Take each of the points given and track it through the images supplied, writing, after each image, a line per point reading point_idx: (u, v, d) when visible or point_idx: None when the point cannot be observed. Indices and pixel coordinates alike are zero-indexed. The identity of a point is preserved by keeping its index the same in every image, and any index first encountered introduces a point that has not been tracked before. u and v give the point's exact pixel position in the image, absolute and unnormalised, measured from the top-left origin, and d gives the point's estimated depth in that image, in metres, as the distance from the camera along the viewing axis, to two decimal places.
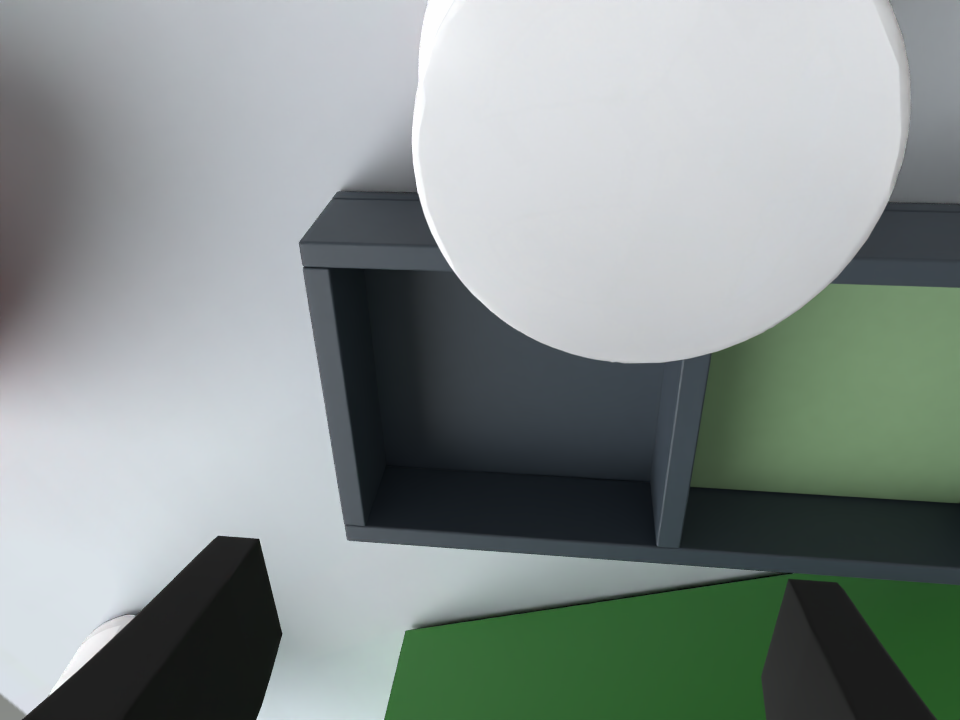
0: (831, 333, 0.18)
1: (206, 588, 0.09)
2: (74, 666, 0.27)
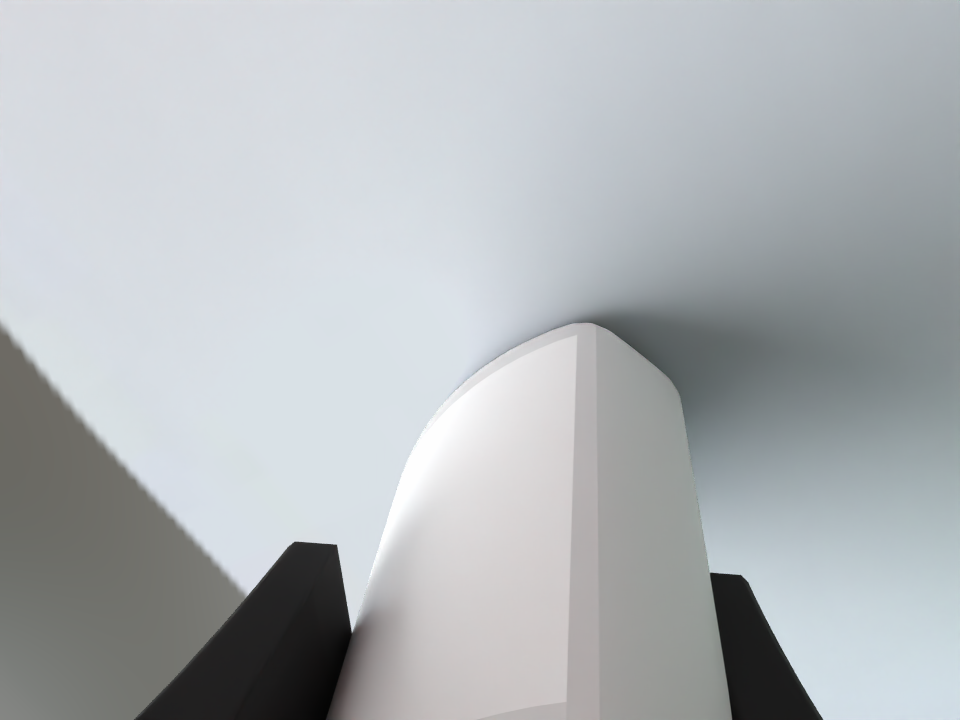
0: None
1: (292, 597, 0.09)
2: (488, 419, 0.11)
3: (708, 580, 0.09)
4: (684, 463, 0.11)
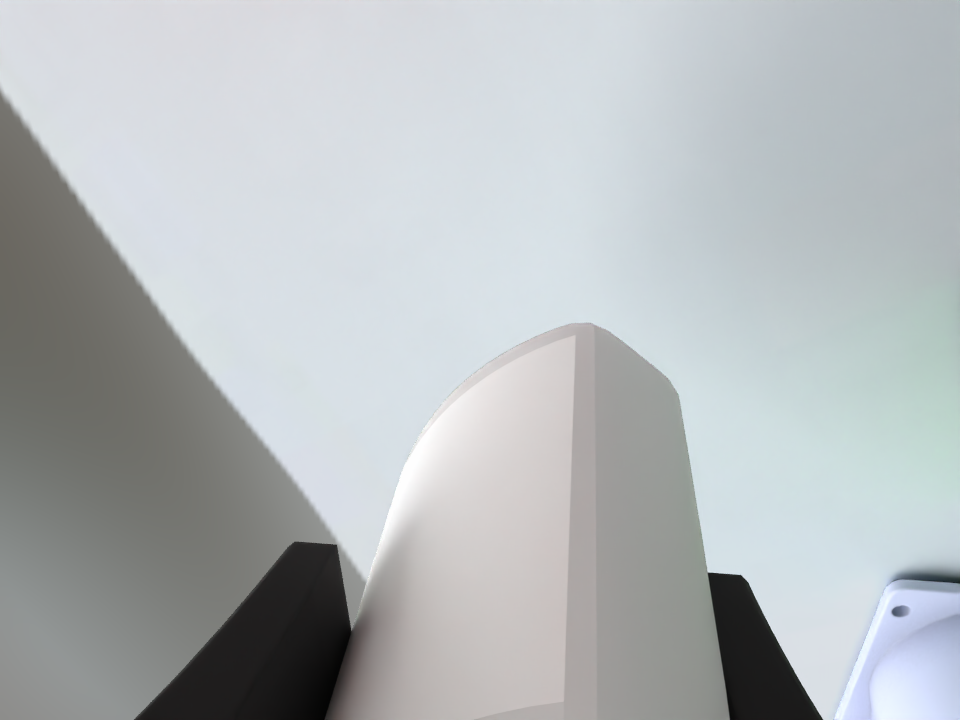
0: None
1: (292, 595, 0.09)
2: (487, 419, 0.11)
3: (706, 580, 0.09)
4: (682, 463, 0.11)
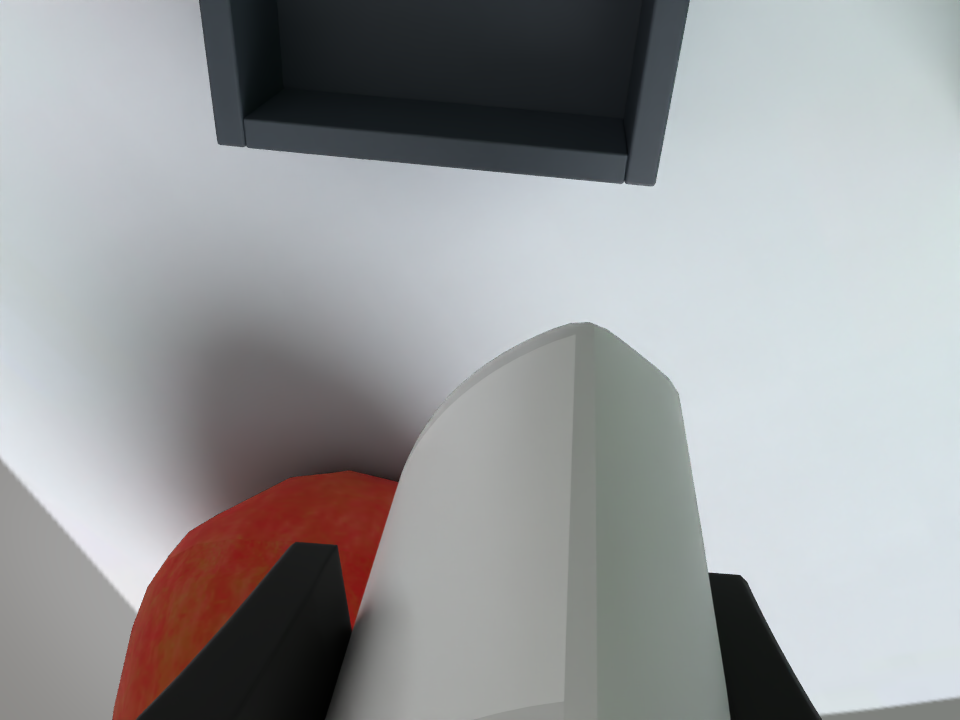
0: None
1: (293, 596, 0.09)
2: (487, 419, 0.11)
3: (706, 579, 0.09)
4: (683, 463, 0.11)
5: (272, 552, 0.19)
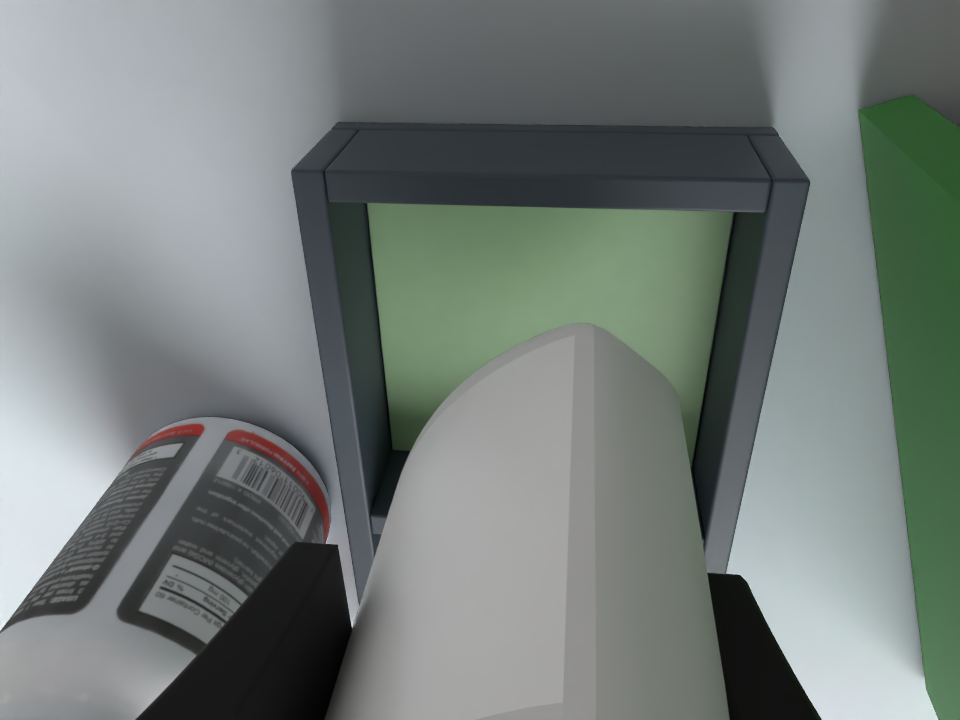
0: (483, 351, 0.18)
1: (293, 597, 0.09)
2: (486, 419, 0.11)
3: (706, 580, 0.09)
4: (681, 463, 0.11)
5: None
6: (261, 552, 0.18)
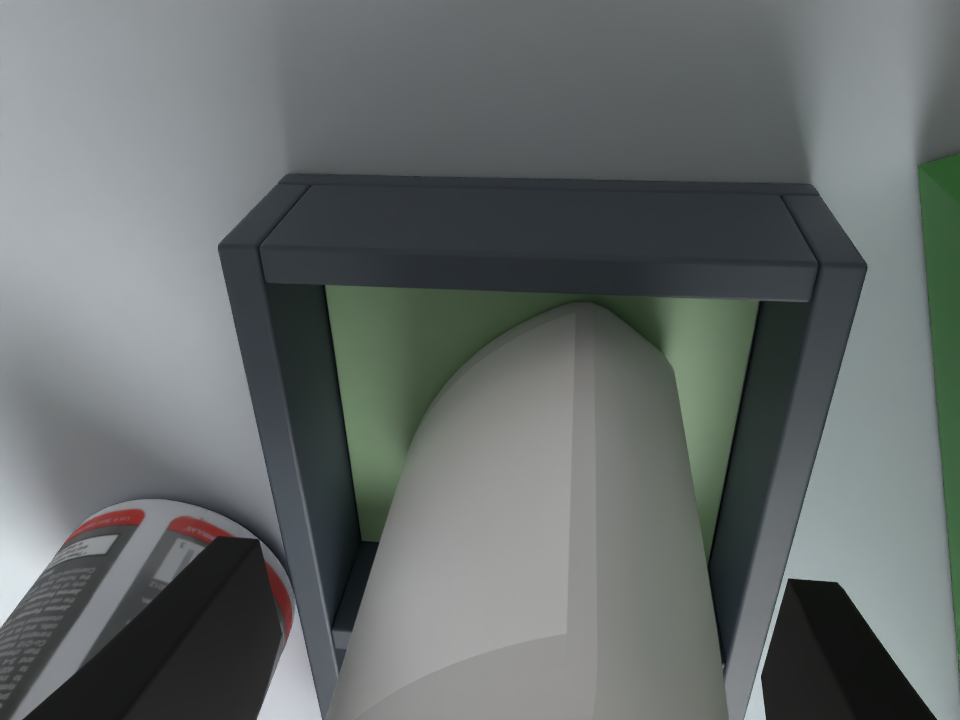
0: None
1: (206, 588, 0.10)
2: (492, 391, 0.12)
3: (699, 536, 0.10)
4: (677, 431, 0.11)
5: None
6: None
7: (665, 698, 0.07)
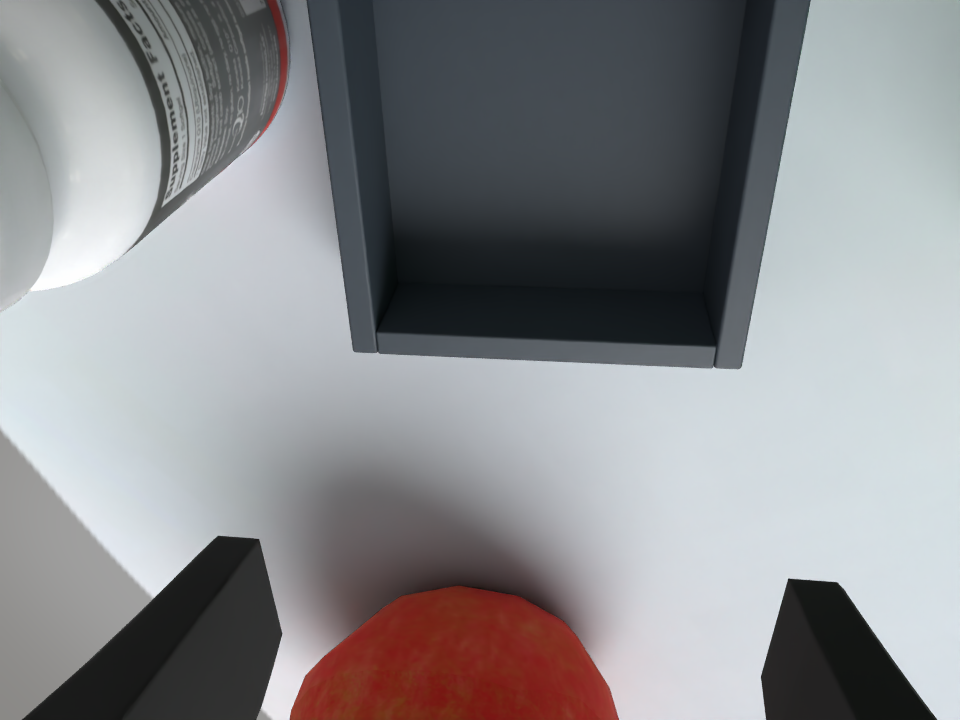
0: None
1: (206, 588, 0.09)
2: None
3: None
4: None
5: (407, 682, 0.21)
6: None
7: None
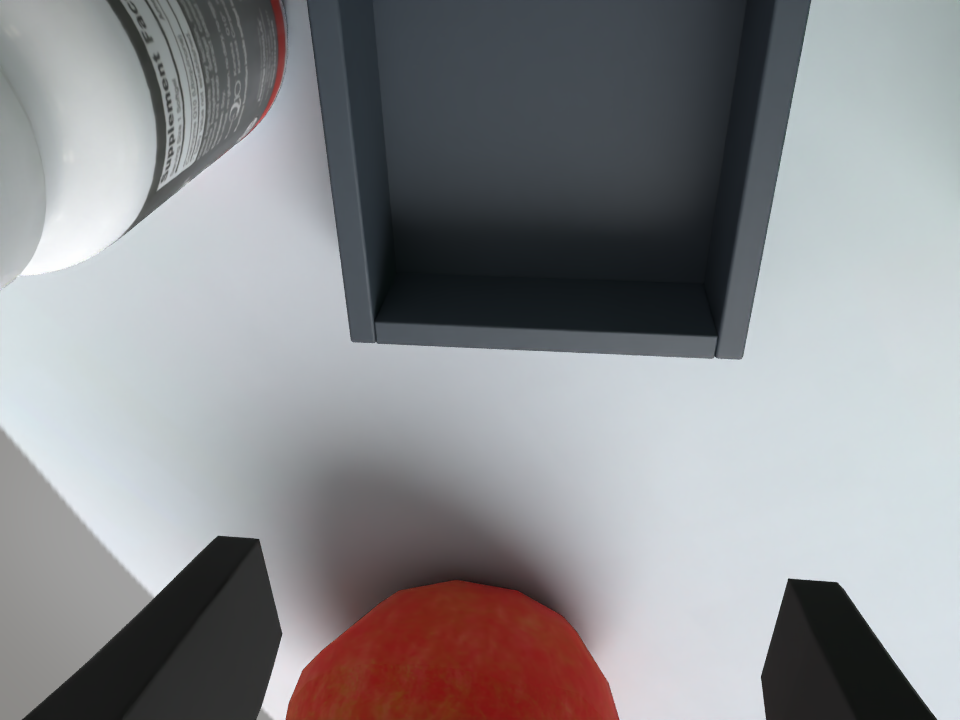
0: None
1: (206, 588, 0.10)
2: None
3: None
4: None
5: (405, 676, 0.21)
6: None
7: None
